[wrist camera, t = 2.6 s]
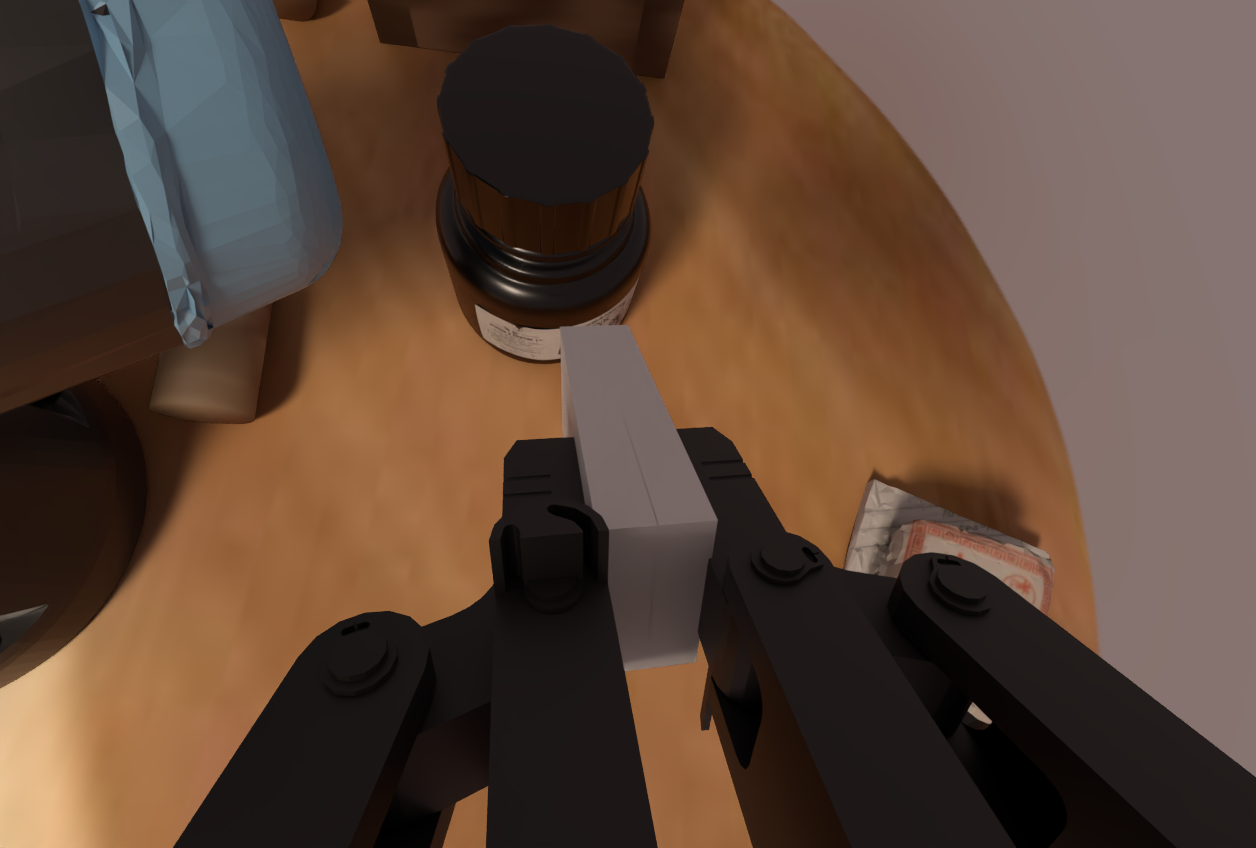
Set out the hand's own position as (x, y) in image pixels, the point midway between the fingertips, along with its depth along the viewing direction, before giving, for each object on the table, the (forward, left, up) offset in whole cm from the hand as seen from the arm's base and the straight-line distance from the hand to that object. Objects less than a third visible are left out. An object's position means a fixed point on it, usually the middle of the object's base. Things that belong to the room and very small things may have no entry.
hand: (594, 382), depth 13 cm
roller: (-15, +6, -15) cm, 22 cm away
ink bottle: (-1, +10, -15) cm, 18 cm away
